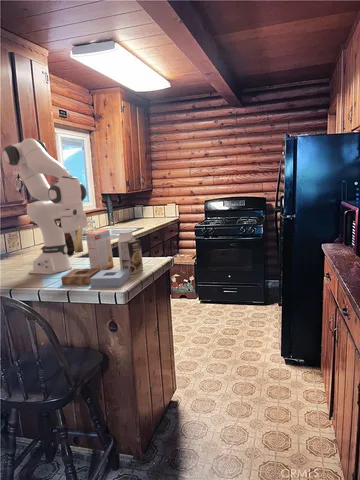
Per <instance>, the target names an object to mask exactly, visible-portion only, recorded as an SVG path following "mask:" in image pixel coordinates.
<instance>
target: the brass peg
mask: <svg viewBox="0 0 360 480" xmlns="http://www.w3.org/2000/svg"><path fill="white" fill-rule="evenodd" d="M75 232H76V233H75V235H76V236H77V240H76V241H73V243H74V250H75V251H74V254H75V253H76V254H77V253H78V254H79V253H83V252H84V246H83V236H82V237H81V229H80V227H79V230H76V231H75Z"/></svg>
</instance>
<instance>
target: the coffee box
mask: <svg viewBox="0 0 360 480" xmlns="http://www.w3.org/2000/svg"><path fill="white" fill-rule="evenodd" d="M120 245H121V256H122V267H123V269H122V270H126V269H129V275H135V274H137V273H139V272H141V271H143V270H144V265H143V255H142V254H143V253H142V242H141V239H135V240H128V241H125V242H121V243H120Z"/></svg>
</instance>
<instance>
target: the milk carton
mask: <svg viewBox="0 0 360 480" xmlns="http://www.w3.org/2000/svg"><path fill="white" fill-rule="evenodd" d="M118 234H119V236H118V240H117V245H118V246H117V247H118V258H119V266H120V267H119V268H120V270H123V267H122V256H121V245H120V243H121V242H125V241H128V240H136V239H135V237H134V235H133V232H119V233H118Z"/></svg>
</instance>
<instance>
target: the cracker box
mask: <svg viewBox="0 0 360 480" xmlns="http://www.w3.org/2000/svg"><path fill="white" fill-rule="evenodd" d="M85 239H86V244H87V245H86V246H87V252H88V253H87V254H88V261H89V267H90V268H101V270H110V268H113V267H114V257H113V251H112V250H113V249H112V242H111V234H110V229H99V230H96V231H93V232H90V233H87V234H85Z"/></svg>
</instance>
